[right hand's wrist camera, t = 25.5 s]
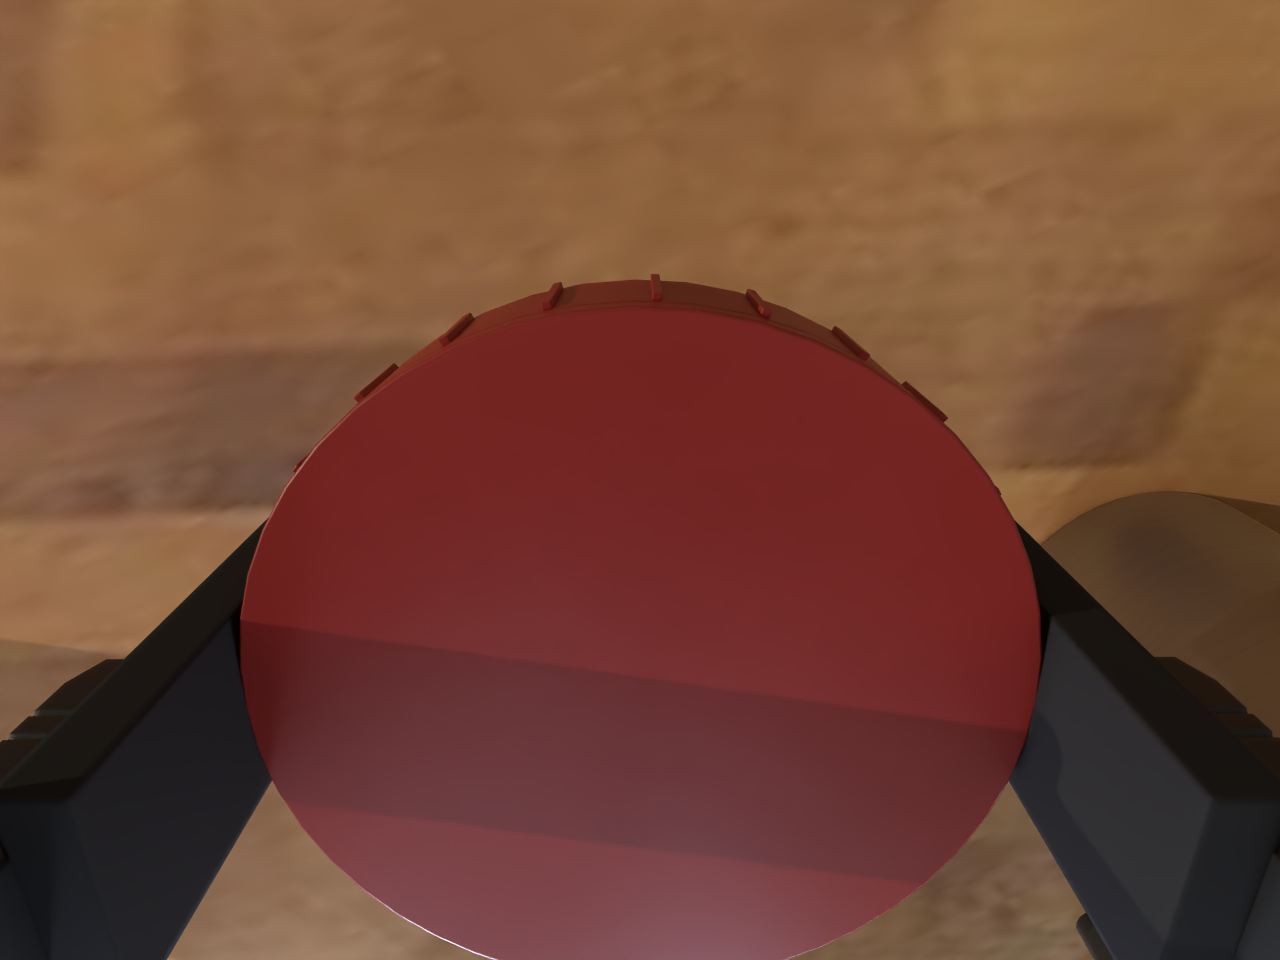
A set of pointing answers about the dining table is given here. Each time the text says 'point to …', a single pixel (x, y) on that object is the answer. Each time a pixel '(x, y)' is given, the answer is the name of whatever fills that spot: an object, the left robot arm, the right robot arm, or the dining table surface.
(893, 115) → the dining table surface
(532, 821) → the lid
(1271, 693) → the jar
